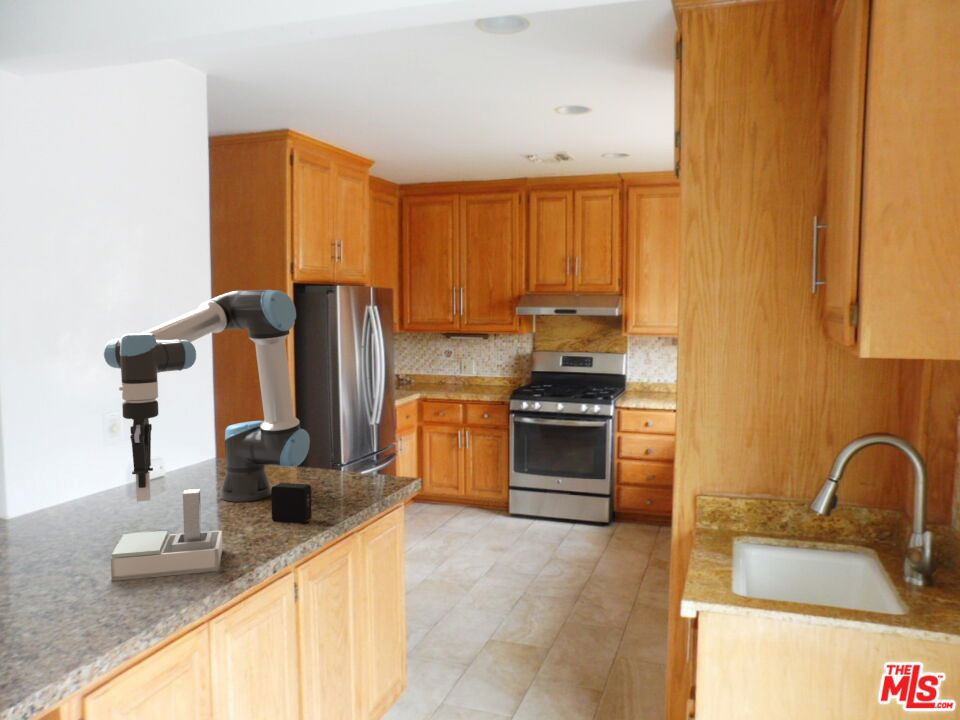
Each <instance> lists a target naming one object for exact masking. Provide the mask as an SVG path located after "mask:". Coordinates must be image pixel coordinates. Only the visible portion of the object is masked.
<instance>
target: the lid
mask: <svg viewBox="0 0 960 720" xmlns="http://www.w3.org/2000/svg"><path fill="white" fill-rule="evenodd" d="M167 535H169V529H160V530H148V531H134V532H124V533H123V535H122V537H121V538H120V539H119V541H118V542H117V545H116V546H115V548H114V549H113V551H112V552H111V557H110V559H111V558H116V557H128V556H139V555H151V554H160V551H161V549H162V547H163V544H164V542H165V540H166V537H167Z"/></svg>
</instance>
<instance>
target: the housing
mask: <svg viewBox="0 0 960 720" xmlns="http://www.w3.org/2000/svg"><path fill="white" fill-rule="evenodd" d="M223 549H224V548H223V530H204V531H201V541H195V542H184V532H182V533H173V534H172V533H171V534H168V535H167V537H166V540H165V542H164V544H163V547H162V549H161V551H160V554H151V555H139V556H128V557H116V558H111V557H110V570H111V571H110V574H111V582H115V581H117V582H118V581H127V580H136V579H138V580H140V579H147V578H148V579H149V578H157V577H168V576H170V577H171V576H179V575H190V574H200V573H211V572H212V573H213V572H219V571H220V567H221V561H222V560H221V559H222V555H223V551H224V550H223Z"/></svg>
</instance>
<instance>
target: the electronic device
mask: <svg viewBox="0 0 960 720" xmlns="http://www.w3.org/2000/svg"><path fill="white" fill-rule="evenodd" d="M270 496H271V497H270V498H271V502H270V503H271V521H272V522H274V523H276V522H277V523H288V524H298V525H299V524H305V523H306V522H308V521H309V520H311V519H312V486H311V484H307V483H304V484H303V483H290V482H289V483H288V482H280V483H276V484H275V485H273V486H271V495H270Z"/></svg>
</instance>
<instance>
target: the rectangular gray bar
mask: <svg viewBox="0 0 960 720" xmlns="http://www.w3.org/2000/svg"><path fill="white" fill-rule="evenodd" d="M182 501H183V502H182V505H183V506H182V509H183V511H182V512H183V515H182V516H183V533H184V542H195V541H201V532H202V514H201V513H202V511H201V508H202V507H201V489H200V488H194V489H193V488H191V489H184V491H183V492H182Z"/></svg>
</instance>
